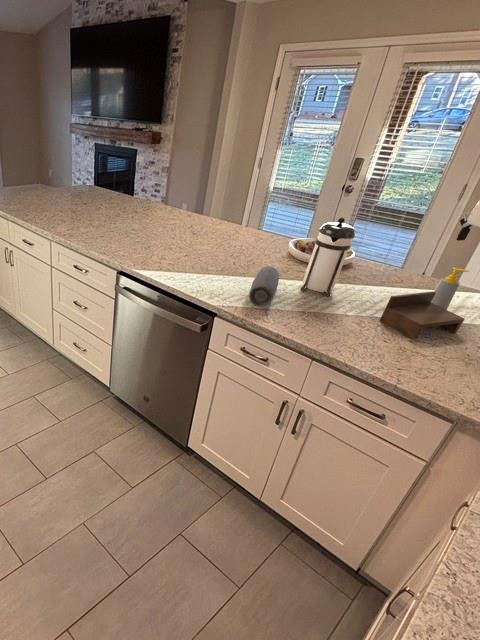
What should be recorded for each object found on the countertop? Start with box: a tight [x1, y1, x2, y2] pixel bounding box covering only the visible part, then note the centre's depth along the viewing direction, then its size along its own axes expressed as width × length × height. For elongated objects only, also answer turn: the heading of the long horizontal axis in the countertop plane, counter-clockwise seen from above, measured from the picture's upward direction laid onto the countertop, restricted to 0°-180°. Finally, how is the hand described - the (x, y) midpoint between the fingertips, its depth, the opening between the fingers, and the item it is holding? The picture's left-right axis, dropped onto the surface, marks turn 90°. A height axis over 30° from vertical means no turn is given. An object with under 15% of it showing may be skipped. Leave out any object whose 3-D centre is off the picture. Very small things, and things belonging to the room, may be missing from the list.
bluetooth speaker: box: [248, 266, 280, 308], centre depth 162 cm, size 23×9×10 cm, turn 154°
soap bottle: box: [431, 266, 470, 310], centre depth 155 cm, size 7×7×18 cm
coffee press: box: [299, 217, 356, 298], centre depth 166 cm, size 17×16×30 cm
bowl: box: [287, 238, 356, 266], centre depth 205 cm, size 30×30×8 cm
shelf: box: [379, 290, 465, 341], centre depth 147 cm, size 14×20×10 cm
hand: (473, 244), depth 139 cm, fingers open, 9 cm apart
